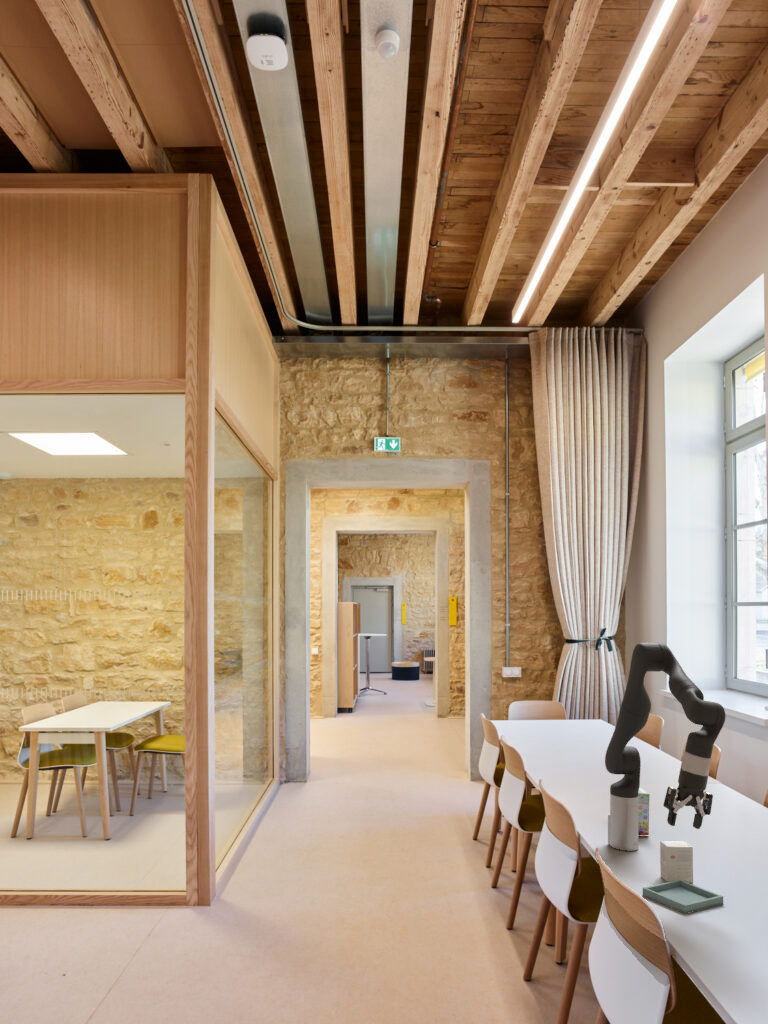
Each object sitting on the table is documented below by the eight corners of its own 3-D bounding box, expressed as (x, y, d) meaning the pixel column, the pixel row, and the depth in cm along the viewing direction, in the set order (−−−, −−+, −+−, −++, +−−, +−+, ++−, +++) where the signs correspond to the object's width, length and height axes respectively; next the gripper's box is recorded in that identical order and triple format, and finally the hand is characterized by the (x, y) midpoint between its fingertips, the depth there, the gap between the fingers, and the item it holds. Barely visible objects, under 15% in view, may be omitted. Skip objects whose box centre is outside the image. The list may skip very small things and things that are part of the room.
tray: (642, 895, 227) (642, 887, 227) (680, 887, 235) (679, 879, 235) (685, 913, 214) (685, 905, 214) (723, 904, 222) (723, 896, 222)
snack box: (650, 837, 284) (650, 793, 286) (634, 836, 284) (634, 793, 286) (632, 820, 305) (632, 780, 307) (618, 820, 305) (618, 779, 307)
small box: (685, 877, 244) (685, 841, 245) (693, 883, 238) (693, 846, 239) (659, 876, 243) (659, 840, 244) (667, 883, 238) (666, 846, 239)
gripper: (706, 768, 234) (695, 823, 233) (665, 762, 230) (654, 818, 229) (724, 777, 227) (713, 834, 226) (682, 771, 223) (670, 829, 222)
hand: (683, 826), depth 228 cm, fingers open, 8 cm apart
